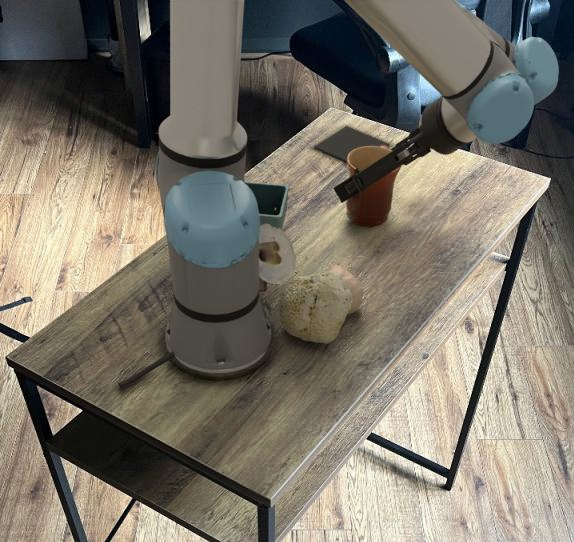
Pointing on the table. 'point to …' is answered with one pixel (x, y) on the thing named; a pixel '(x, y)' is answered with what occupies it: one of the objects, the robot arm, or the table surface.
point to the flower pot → (270, 202)
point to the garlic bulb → (350, 286)
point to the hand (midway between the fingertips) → (361, 179)
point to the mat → (347, 142)
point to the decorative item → (315, 306)
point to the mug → (370, 189)
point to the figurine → (274, 257)
